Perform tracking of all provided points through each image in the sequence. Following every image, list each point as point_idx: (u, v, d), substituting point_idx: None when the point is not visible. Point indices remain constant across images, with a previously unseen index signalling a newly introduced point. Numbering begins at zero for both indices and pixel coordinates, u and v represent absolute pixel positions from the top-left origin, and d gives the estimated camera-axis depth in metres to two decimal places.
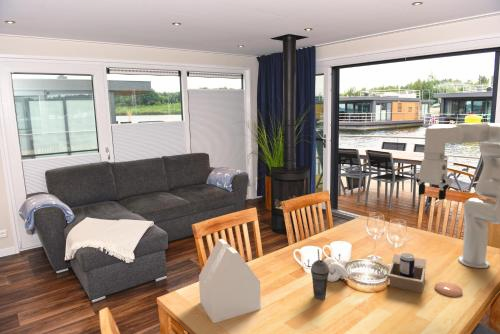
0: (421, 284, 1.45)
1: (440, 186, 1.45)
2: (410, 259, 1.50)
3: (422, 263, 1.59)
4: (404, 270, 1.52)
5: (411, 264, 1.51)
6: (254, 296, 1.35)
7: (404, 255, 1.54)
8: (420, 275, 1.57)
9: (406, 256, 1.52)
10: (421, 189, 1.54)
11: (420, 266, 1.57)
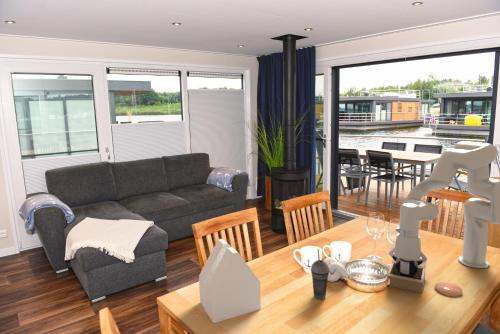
0: (421, 284, 1.45)
1: None
2: None
3: (422, 263, 1.59)
4: (404, 270, 1.52)
5: (411, 264, 1.51)
6: (254, 296, 1.35)
7: None
8: (420, 275, 1.57)
9: None
10: None
11: (420, 266, 1.57)
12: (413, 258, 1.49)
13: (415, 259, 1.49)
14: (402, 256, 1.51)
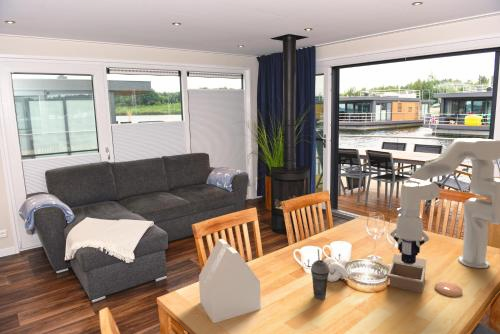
0: (421, 284, 1.45)
1: None
2: None
3: (422, 263, 1.59)
4: (406, 250, 1.50)
5: (413, 244, 1.49)
6: (254, 296, 1.35)
7: None
8: (420, 275, 1.57)
9: None
10: None
11: (420, 266, 1.57)
12: (415, 238, 1.48)
13: (417, 239, 1.47)
14: (404, 236, 1.50)
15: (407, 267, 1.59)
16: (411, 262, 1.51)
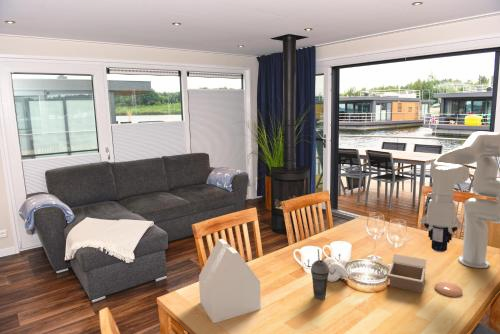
0: (421, 284, 1.45)
1: None
2: None
3: (422, 263, 1.59)
4: (437, 237, 1.43)
5: (445, 230, 1.42)
6: (254, 296, 1.35)
7: None
8: (420, 275, 1.57)
9: None
10: None
11: (420, 266, 1.57)
12: (447, 224, 1.41)
13: (450, 225, 1.40)
14: (435, 223, 1.43)
15: (407, 267, 1.59)
16: (442, 250, 1.44)
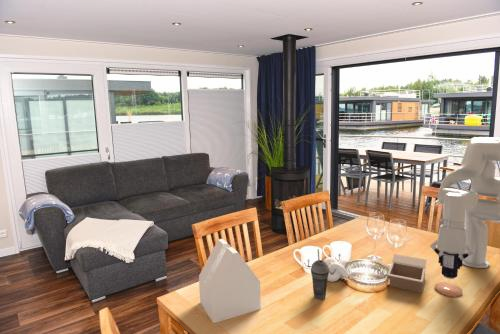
0: (421, 284, 1.45)
1: None
2: None
3: (422, 263, 1.59)
4: (448, 264, 1.43)
5: (456, 257, 1.42)
6: (254, 296, 1.35)
7: None
8: (420, 275, 1.57)
9: None
10: None
11: (420, 266, 1.57)
12: (458, 251, 1.40)
13: (461, 252, 1.40)
14: (446, 249, 1.42)
15: (407, 267, 1.59)
16: (453, 276, 1.43)
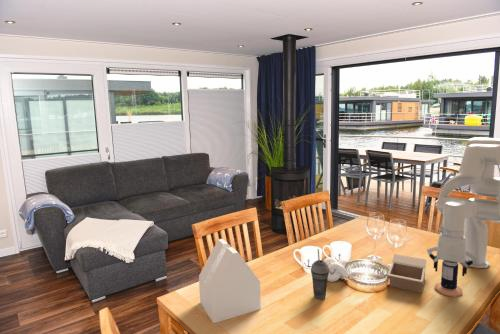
0: (421, 284, 1.45)
1: None
2: (454, 264, 1.43)
3: (422, 263, 1.59)
4: (448, 275, 1.44)
5: (455, 269, 1.43)
6: (254, 296, 1.35)
7: None
8: (420, 275, 1.57)
9: (449, 261, 1.44)
10: None
11: (420, 266, 1.57)
12: (458, 260, 1.41)
13: (460, 261, 1.40)
14: (445, 258, 1.43)
15: (407, 267, 1.59)
16: (452, 288, 1.44)
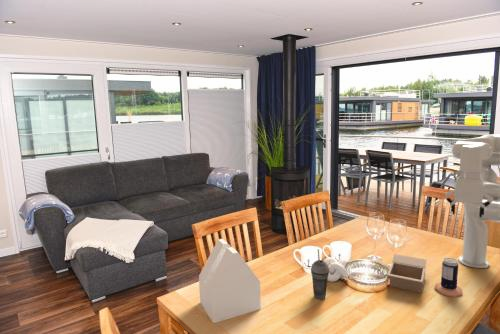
0: (421, 284, 1.45)
1: None
2: (454, 264, 1.43)
3: (422, 263, 1.59)
4: (448, 275, 1.44)
5: (455, 269, 1.43)
6: (254, 296, 1.35)
7: (447, 260, 1.46)
8: (420, 275, 1.57)
9: (449, 261, 1.44)
10: (479, 210, 1.48)
11: (420, 266, 1.57)
12: (475, 201, 1.45)
13: (477, 202, 1.44)
14: (463, 200, 1.47)
15: (407, 267, 1.59)
16: (452, 288, 1.44)
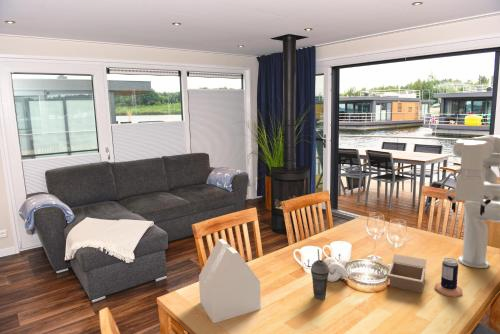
0: (421, 284, 1.45)
1: None
2: (454, 264, 1.43)
3: (422, 263, 1.59)
4: (448, 275, 1.44)
5: (455, 269, 1.43)
6: (254, 296, 1.35)
7: (447, 260, 1.46)
8: (420, 275, 1.57)
9: (449, 261, 1.44)
10: (480, 208, 1.48)
11: (420, 266, 1.57)
12: (476, 199, 1.45)
13: (478, 200, 1.44)
14: (464, 197, 1.47)
15: (407, 267, 1.59)
16: (452, 288, 1.44)
